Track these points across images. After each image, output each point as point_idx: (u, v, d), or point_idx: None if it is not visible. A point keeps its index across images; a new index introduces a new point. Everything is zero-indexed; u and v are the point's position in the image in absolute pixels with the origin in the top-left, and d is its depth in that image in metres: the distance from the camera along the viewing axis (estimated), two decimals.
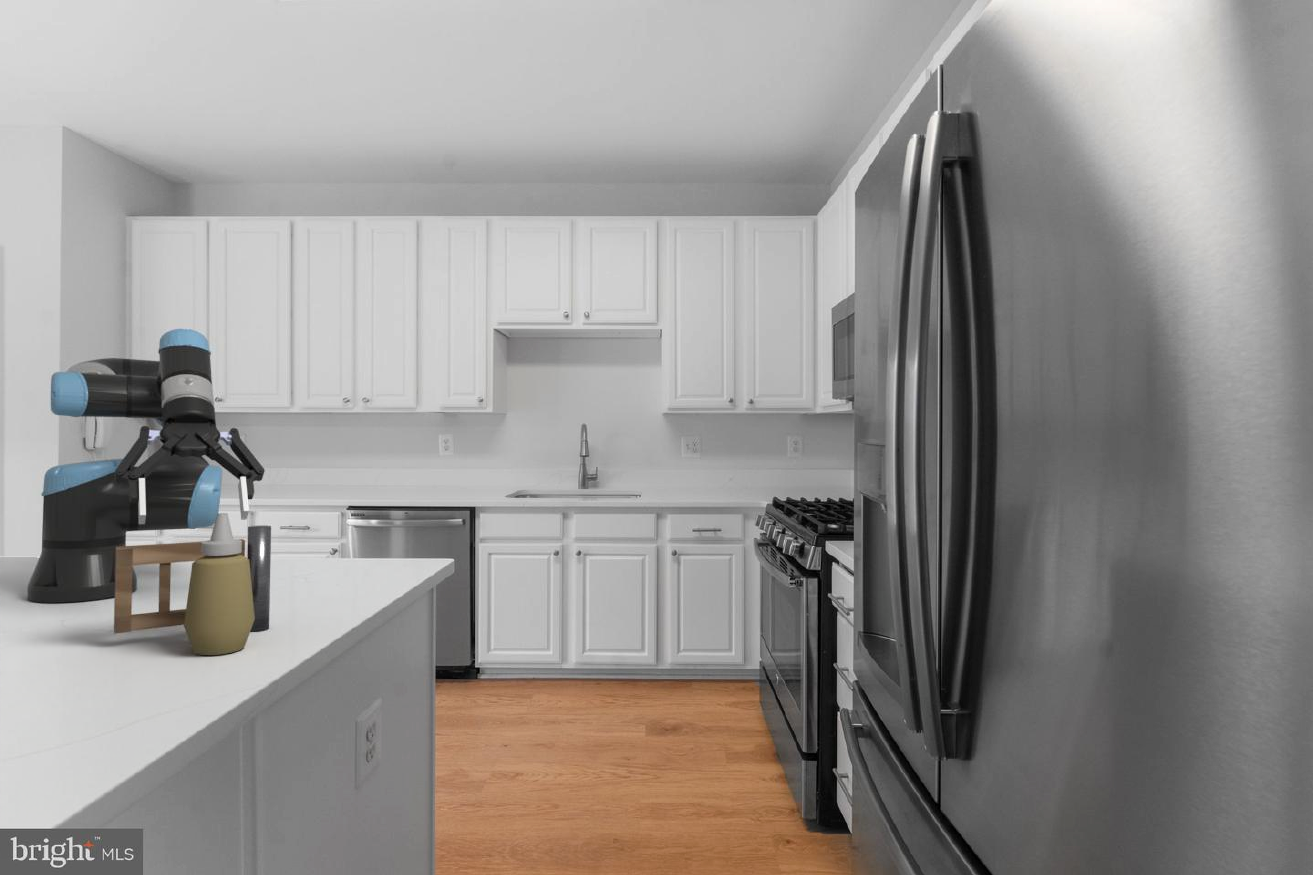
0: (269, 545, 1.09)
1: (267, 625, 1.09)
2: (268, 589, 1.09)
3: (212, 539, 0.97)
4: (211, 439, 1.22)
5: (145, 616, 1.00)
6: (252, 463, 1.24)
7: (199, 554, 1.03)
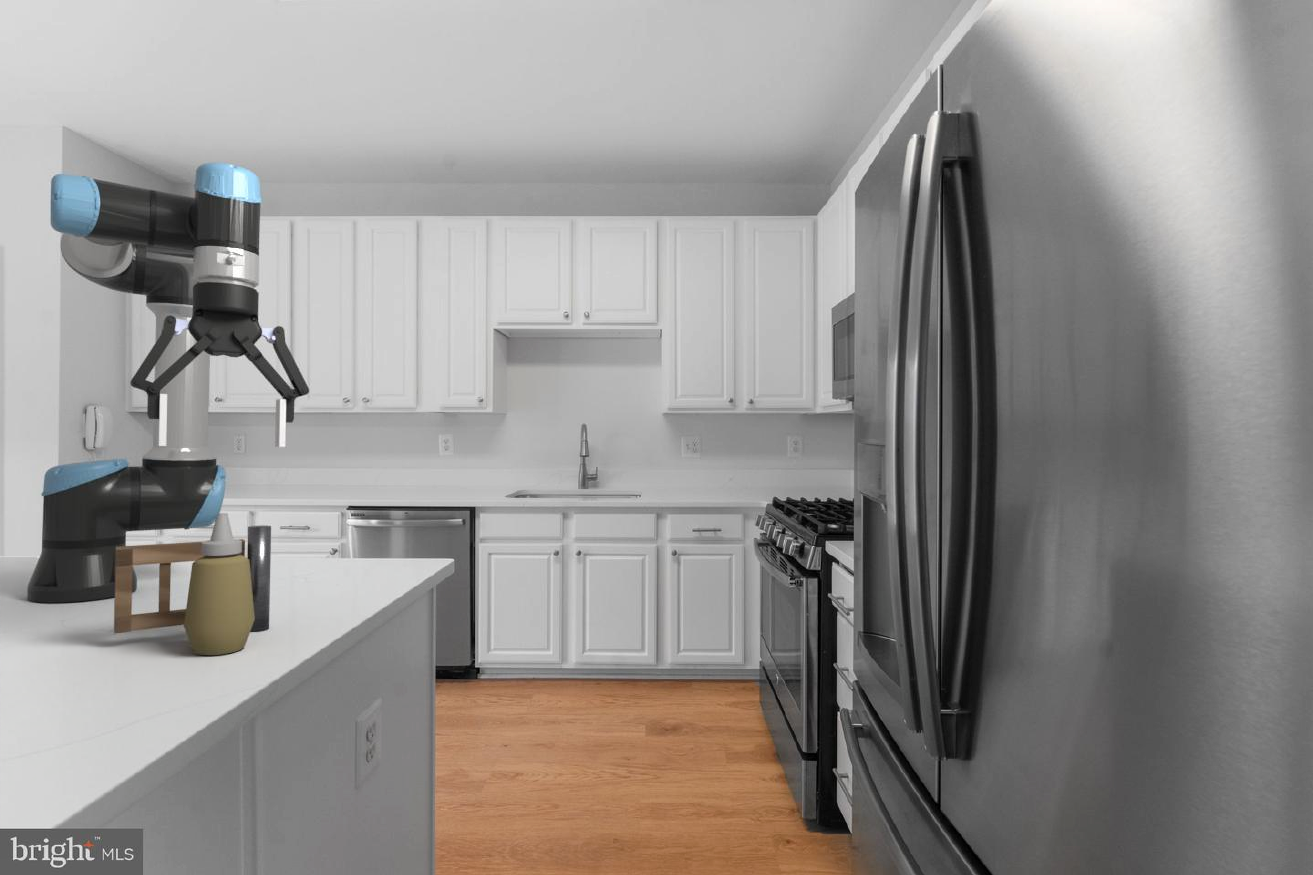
0: (269, 545, 1.09)
1: (267, 625, 1.09)
2: (268, 589, 1.09)
3: (212, 539, 0.97)
4: (250, 344, 0.99)
5: (145, 616, 1.00)
6: (296, 380, 1.02)
7: (199, 554, 1.03)
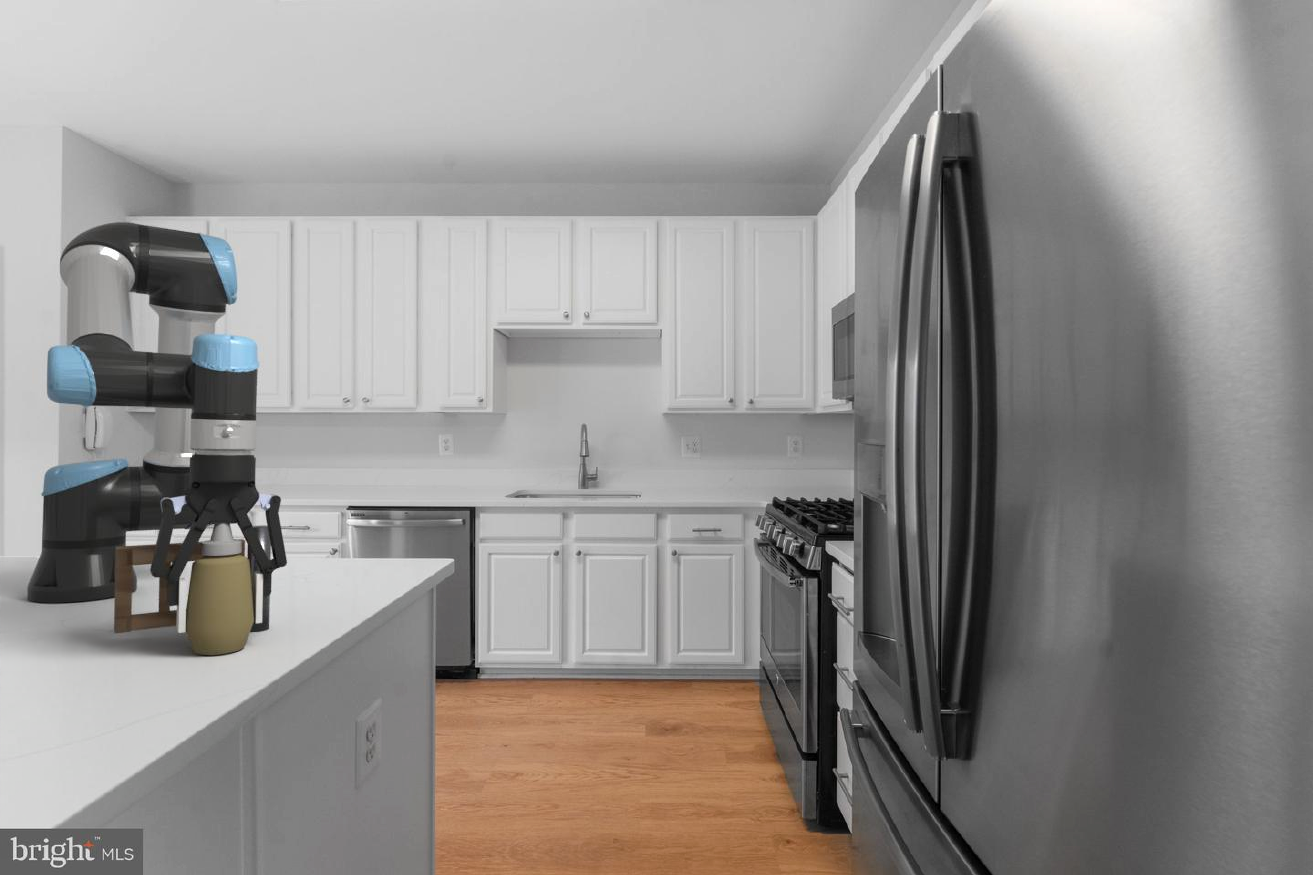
0: (269, 545, 1.09)
1: (267, 625, 1.09)
2: None
3: (212, 539, 0.97)
4: (244, 513, 0.98)
5: (145, 616, 1.00)
6: (277, 551, 1.01)
7: (199, 554, 1.03)
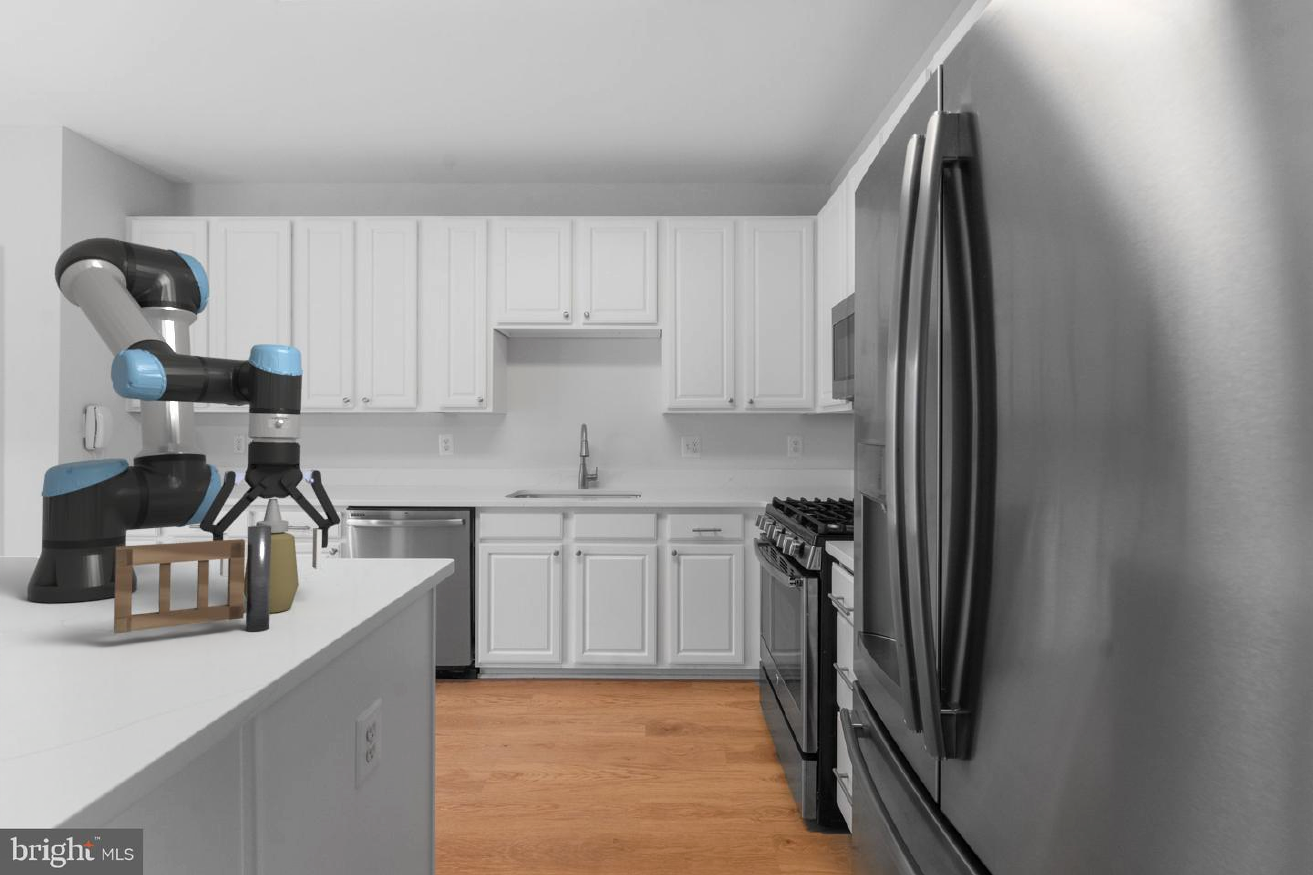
0: (269, 545, 1.09)
1: (267, 625, 1.09)
2: (268, 589, 1.09)
3: (265, 519, 1.20)
4: (294, 487, 1.21)
5: (145, 616, 1.00)
6: (329, 513, 1.25)
7: (199, 554, 1.03)
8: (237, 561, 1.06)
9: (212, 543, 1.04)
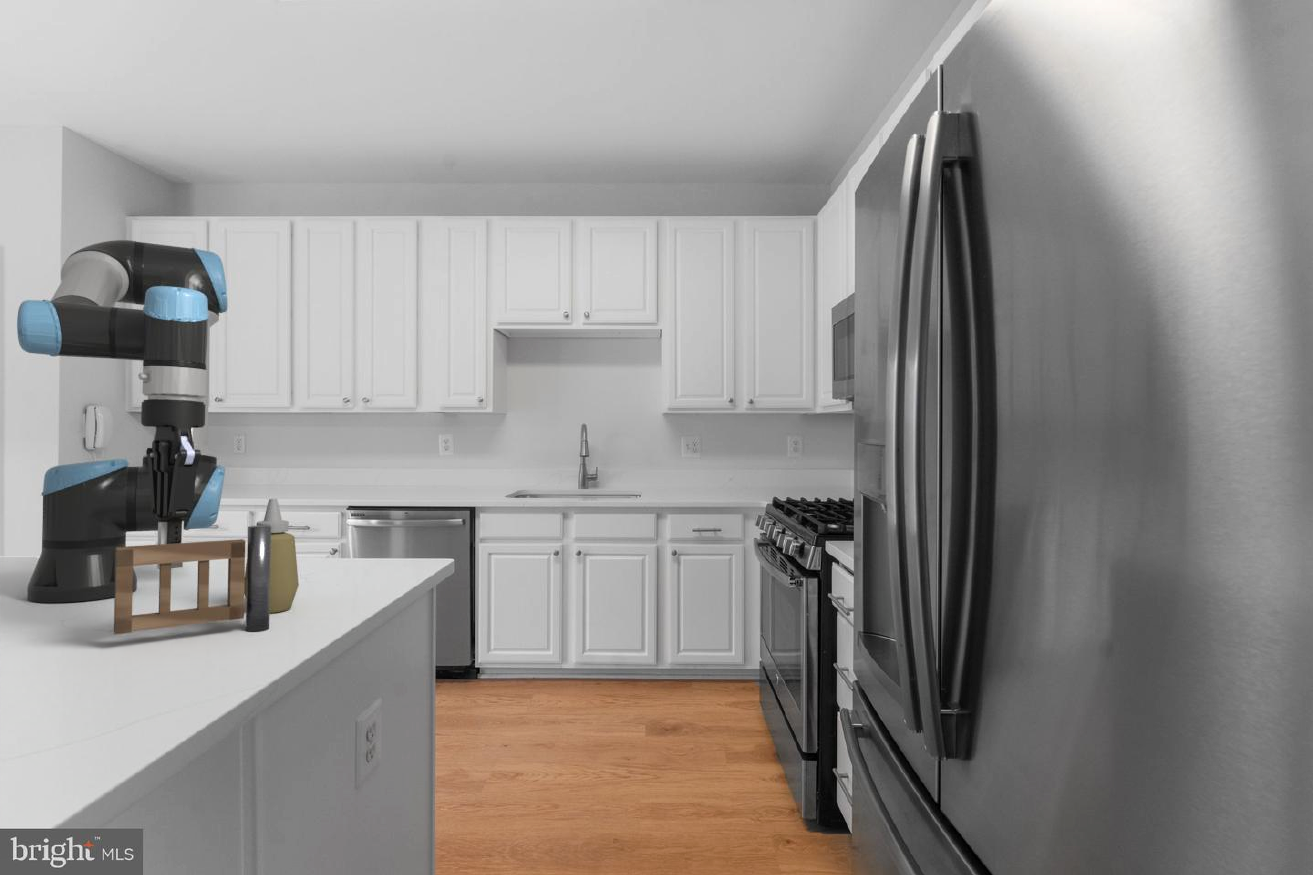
0: (269, 545, 1.09)
1: (267, 625, 1.09)
2: (268, 589, 1.09)
3: (265, 519, 1.20)
4: (163, 458, 1.02)
5: (146, 617, 0.99)
6: (170, 501, 1.01)
7: (200, 554, 1.03)
8: (237, 561, 1.06)
9: (212, 543, 1.04)
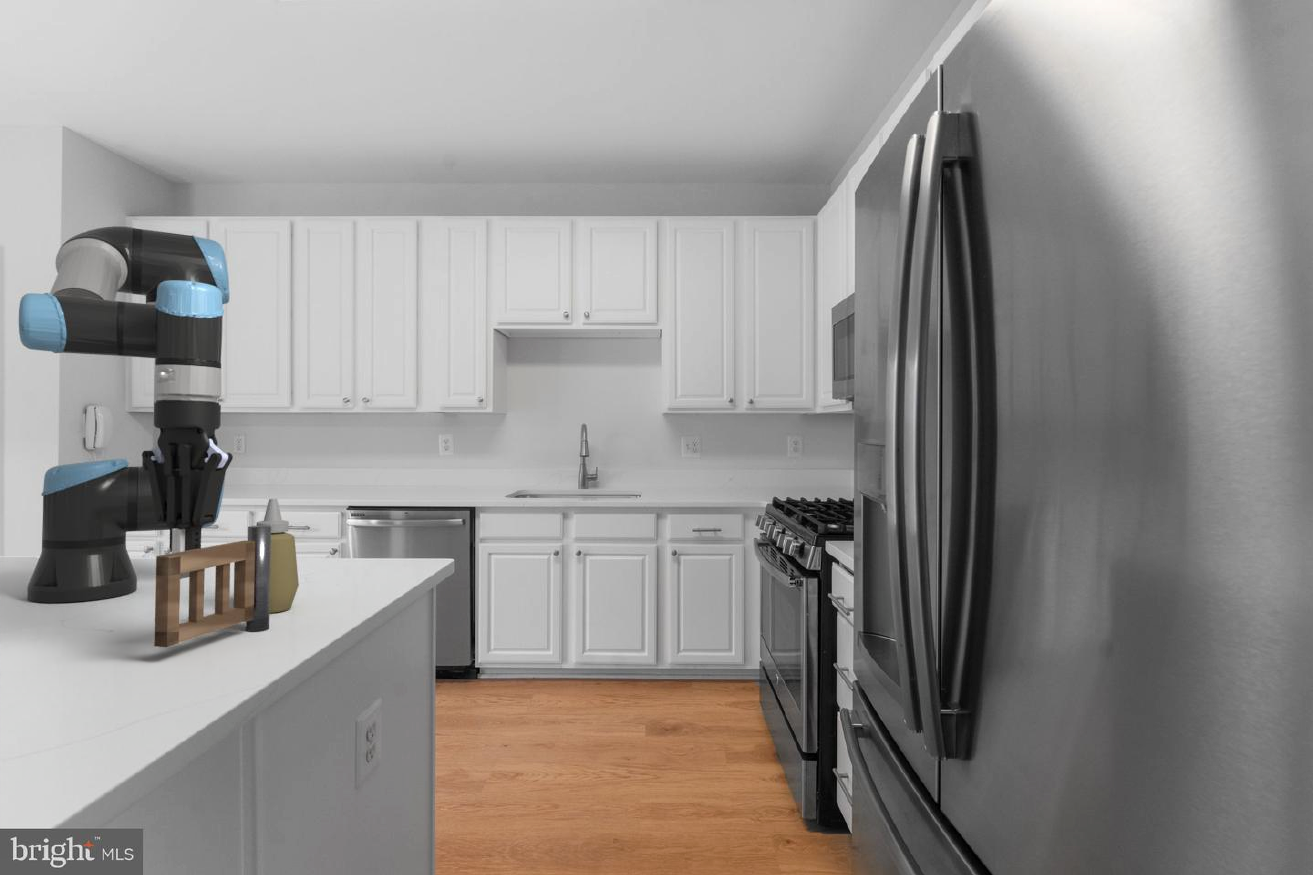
0: (269, 545, 1.09)
1: (267, 625, 1.09)
2: (268, 589, 1.09)
3: (265, 519, 1.20)
4: (185, 462, 0.97)
5: (188, 626, 0.95)
6: (197, 506, 0.97)
7: (225, 557, 1.01)
8: (250, 562, 1.06)
9: (233, 545, 1.03)
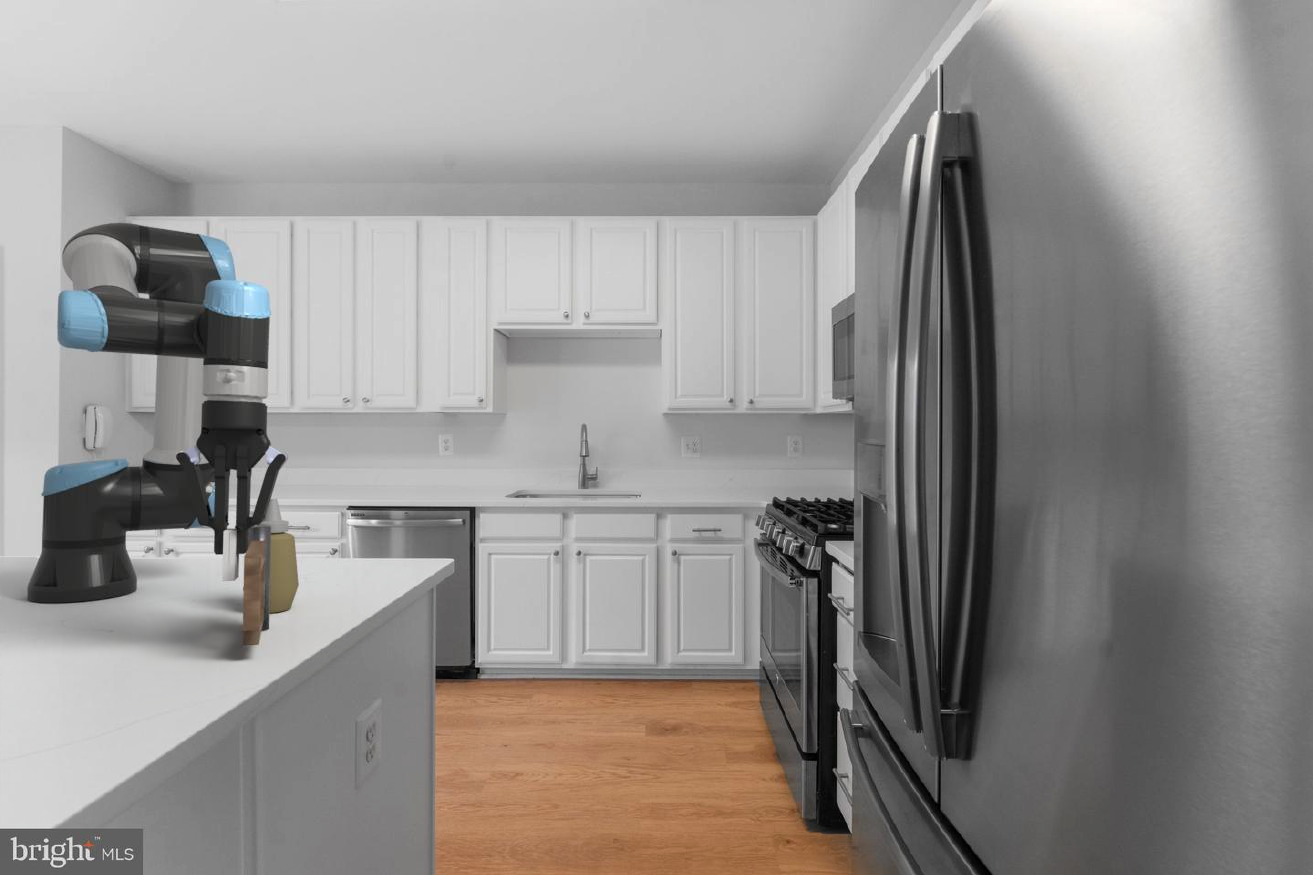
0: (269, 545, 1.09)
1: (267, 625, 1.09)
2: (268, 589, 1.09)
3: (265, 519, 1.20)
4: (245, 463, 0.97)
5: (259, 624, 0.97)
6: (257, 507, 0.98)
7: None
8: None
9: (263, 545, 1.04)
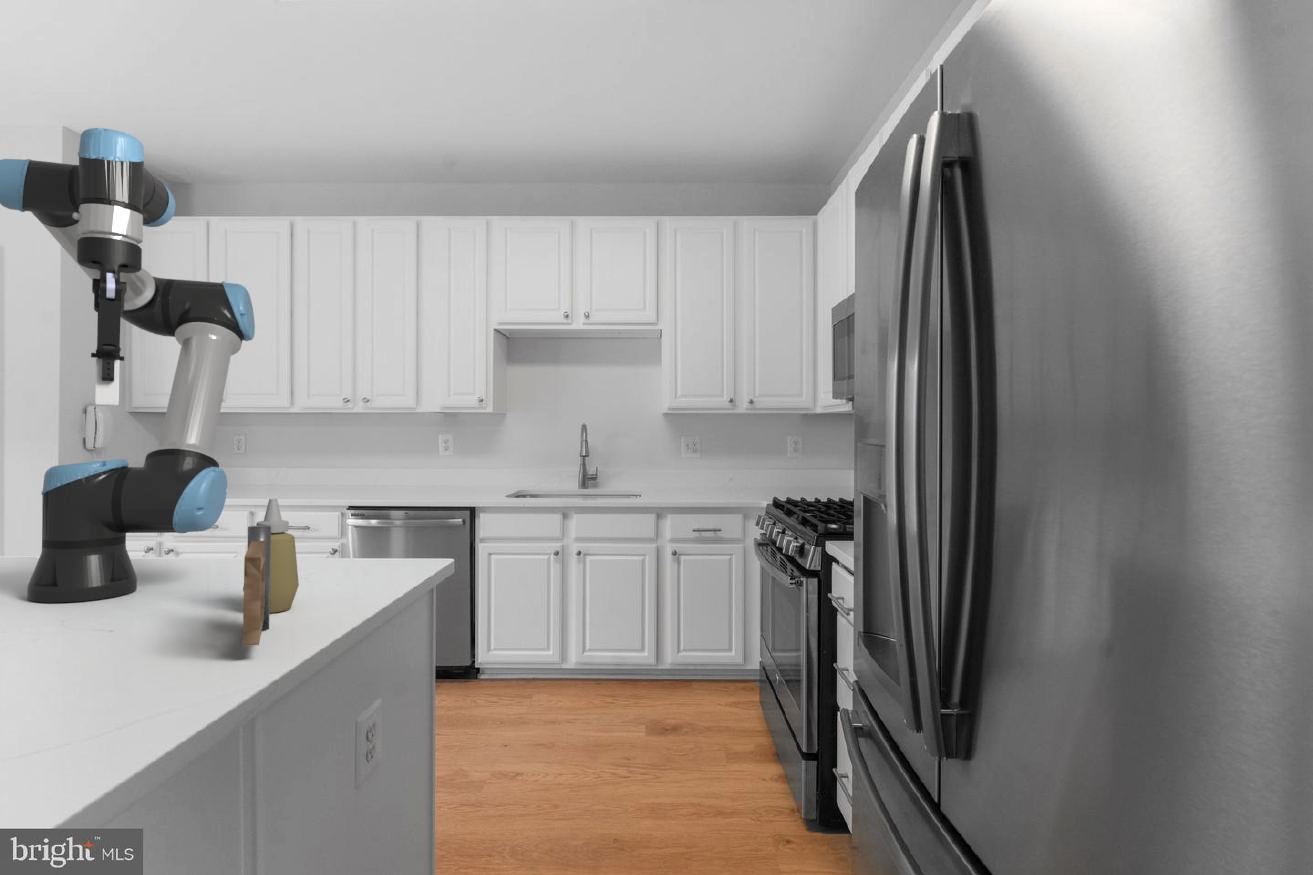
0: (269, 545, 1.09)
1: (267, 625, 1.09)
2: (268, 589, 1.09)
3: (265, 519, 1.20)
4: (94, 295, 1.05)
5: (259, 624, 0.97)
6: None
7: None
8: None
9: (264, 545, 1.04)
